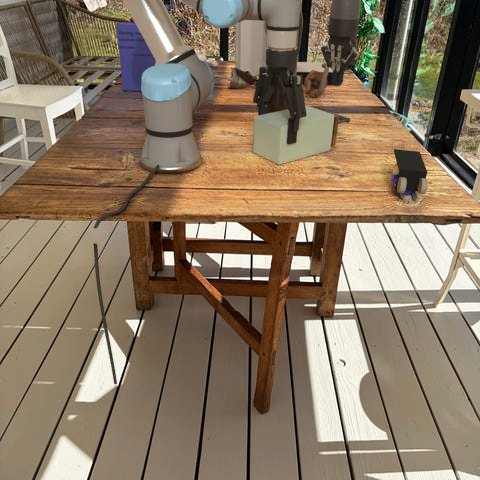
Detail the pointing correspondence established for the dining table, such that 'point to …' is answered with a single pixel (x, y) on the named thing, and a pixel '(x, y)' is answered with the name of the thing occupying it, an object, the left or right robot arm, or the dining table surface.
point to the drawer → (335, 125)
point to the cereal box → (133, 55)
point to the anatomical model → (316, 81)
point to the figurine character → (409, 173)
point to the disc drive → (306, 67)
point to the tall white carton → (250, 46)
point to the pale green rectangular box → (308, 136)
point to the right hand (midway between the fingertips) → (336, 85)
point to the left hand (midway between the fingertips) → (276, 136)
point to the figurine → (239, 78)
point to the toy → (203, 58)
